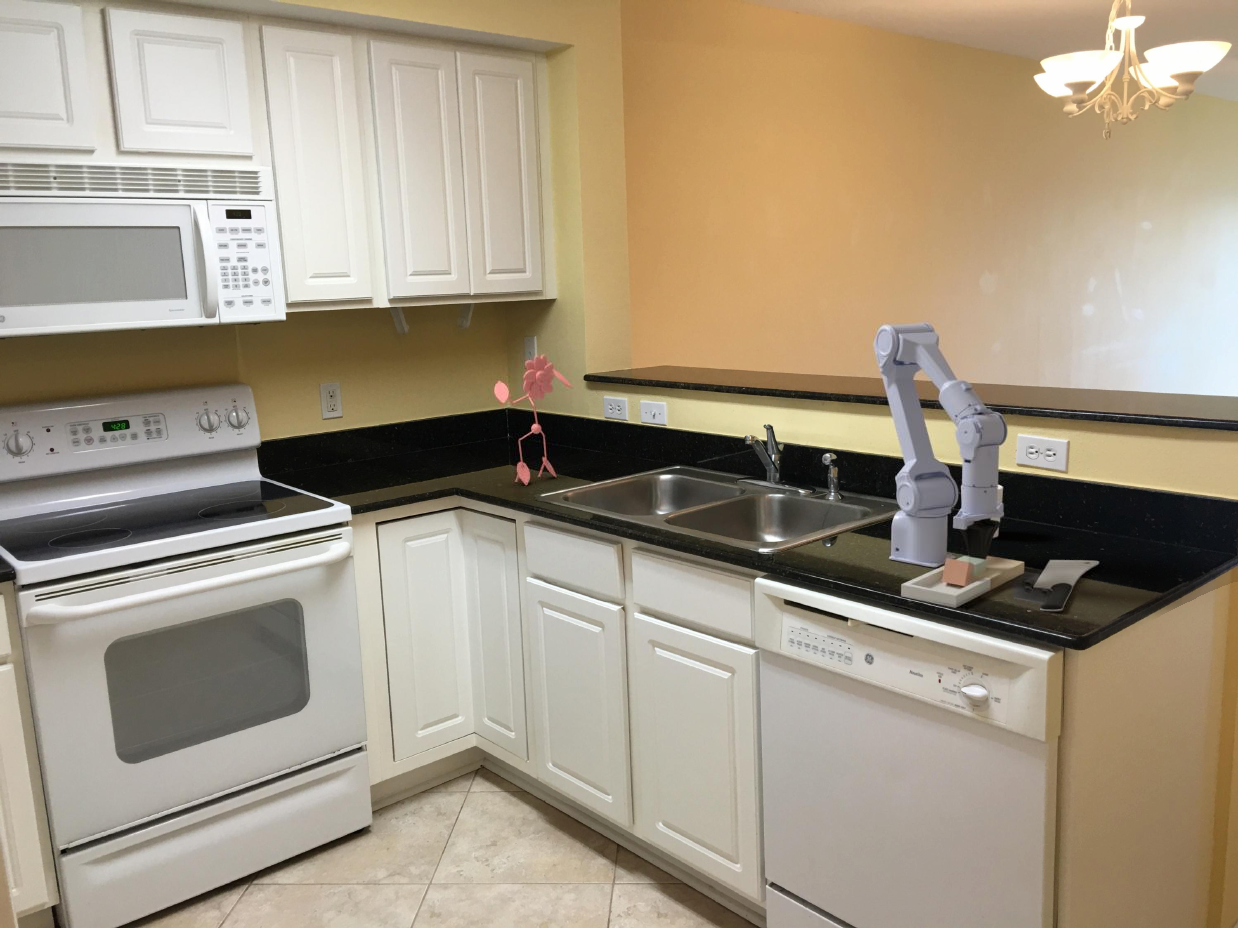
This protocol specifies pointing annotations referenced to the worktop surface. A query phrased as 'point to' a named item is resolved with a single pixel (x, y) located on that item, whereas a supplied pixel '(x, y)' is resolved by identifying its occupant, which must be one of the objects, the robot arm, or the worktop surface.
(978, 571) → the sage tile
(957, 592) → the grey tray
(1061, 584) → the kitchen cleaver
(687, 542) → the worktop surface
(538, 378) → the figurine
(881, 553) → the worktop surface
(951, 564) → the terracotta tile
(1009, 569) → the wooden board
